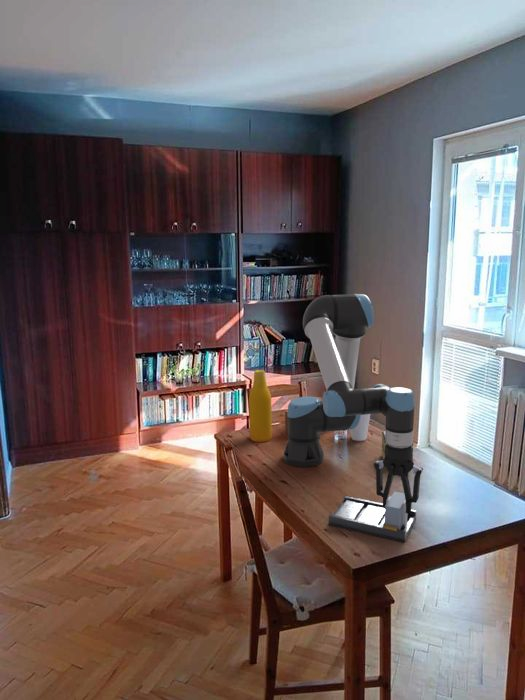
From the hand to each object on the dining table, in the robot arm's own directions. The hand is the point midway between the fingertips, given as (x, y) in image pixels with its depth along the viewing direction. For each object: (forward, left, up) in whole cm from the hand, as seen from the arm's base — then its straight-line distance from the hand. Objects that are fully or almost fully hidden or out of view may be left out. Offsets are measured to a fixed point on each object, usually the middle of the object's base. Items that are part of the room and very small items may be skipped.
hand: (396, 520), depth 159 cm
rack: (-7, 0, -2) cm, 7 cm away
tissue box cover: (-54, +70, -3) cm, 88 cm away
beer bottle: (-69, +48, -2) cm, 84 cm away
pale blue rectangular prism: (0, 0, 0) cm, 1 cm away
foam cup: (-32, +65, -2) cm, 72 cm away
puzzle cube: (-12, +48, -3) cm, 50 cm away
